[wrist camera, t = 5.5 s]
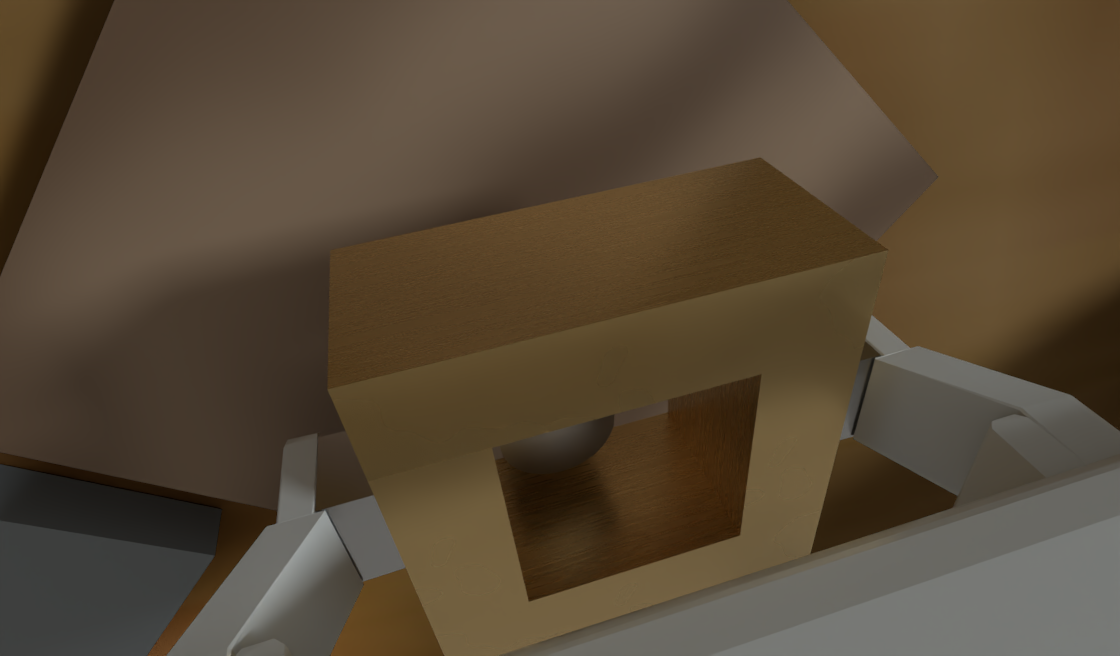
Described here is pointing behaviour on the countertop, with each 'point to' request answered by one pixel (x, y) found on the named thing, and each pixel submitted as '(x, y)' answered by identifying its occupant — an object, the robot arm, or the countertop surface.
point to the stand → (364, 195)
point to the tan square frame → (602, 393)
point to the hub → (94, 564)
